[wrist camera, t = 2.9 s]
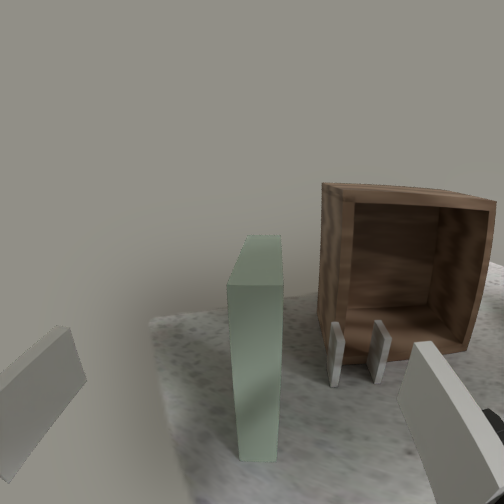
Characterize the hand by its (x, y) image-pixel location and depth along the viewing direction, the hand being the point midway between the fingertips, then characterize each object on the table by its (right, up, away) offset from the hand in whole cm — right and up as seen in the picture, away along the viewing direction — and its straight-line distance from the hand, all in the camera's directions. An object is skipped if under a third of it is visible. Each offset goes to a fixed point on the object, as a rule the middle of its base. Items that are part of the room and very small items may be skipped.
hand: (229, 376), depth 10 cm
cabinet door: (+2, -11, +16) cm, 20 cm away
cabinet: (+20, -8, +27) cm, 34 cm away
